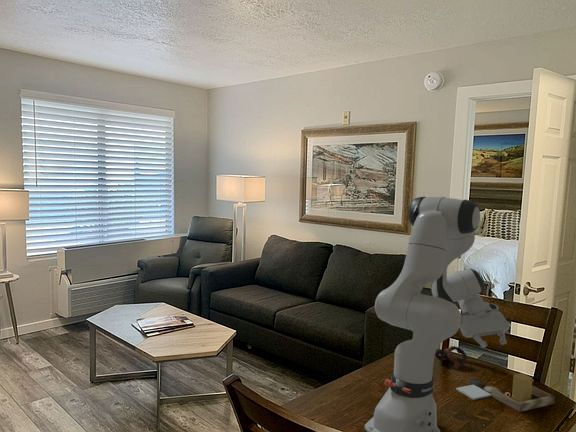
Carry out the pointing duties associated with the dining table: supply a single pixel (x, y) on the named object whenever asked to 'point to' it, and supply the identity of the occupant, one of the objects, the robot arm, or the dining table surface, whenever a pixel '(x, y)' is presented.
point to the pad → (473, 392)
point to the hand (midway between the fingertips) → (494, 345)
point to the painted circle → (490, 389)
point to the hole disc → (477, 383)
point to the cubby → (526, 405)
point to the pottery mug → (451, 356)
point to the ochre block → (522, 387)
